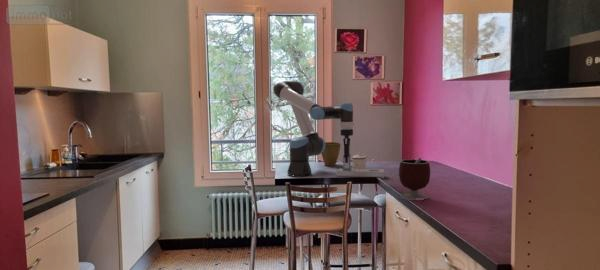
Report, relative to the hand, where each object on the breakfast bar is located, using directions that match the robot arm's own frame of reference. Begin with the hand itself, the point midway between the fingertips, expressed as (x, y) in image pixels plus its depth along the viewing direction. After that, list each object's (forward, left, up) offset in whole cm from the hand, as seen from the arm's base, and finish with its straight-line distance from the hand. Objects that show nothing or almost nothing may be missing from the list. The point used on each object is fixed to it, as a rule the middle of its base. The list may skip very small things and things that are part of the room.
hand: (346, 167), depth 227 cm
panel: (+8, 0, -6) cm, 10 cm away
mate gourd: (+35, -48, -6) cm, 59 cm away
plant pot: (-15, +40, -6) cm, 44 cm away
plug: (0, 0, -5) cm, 5 cm away
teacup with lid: (+5, +20, -6) cm, 22 cm away
